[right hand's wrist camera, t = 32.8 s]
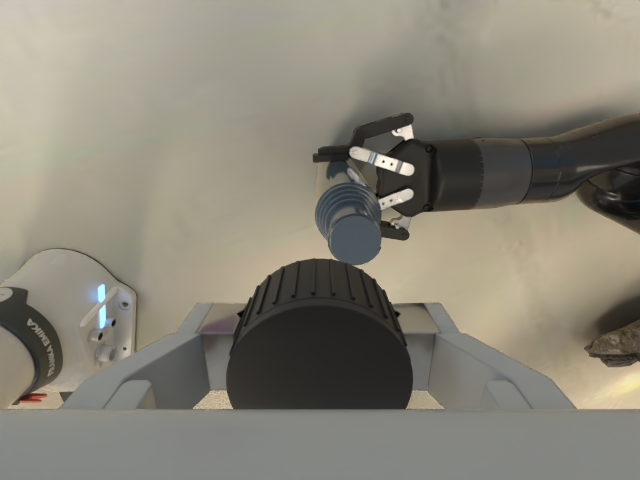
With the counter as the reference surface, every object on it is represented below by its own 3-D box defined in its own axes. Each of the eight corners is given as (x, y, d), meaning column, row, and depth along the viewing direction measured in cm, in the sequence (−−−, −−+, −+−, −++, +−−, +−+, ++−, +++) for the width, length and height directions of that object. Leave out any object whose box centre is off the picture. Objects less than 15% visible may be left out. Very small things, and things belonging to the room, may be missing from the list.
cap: (423, 303, 10) (456, 362, 8) (340, 403, 11) (345, 479, 9) (294, 226, 9) (285, 265, 7) (219, 343, 10) (190, 410, 8)
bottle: (311, 182, 44) (301, 261, 21) (326, 146, 43) (333, 187, 19) (346, 197, 45) (374, 289, 21) (362, 161, 43) (412, 220, 20)
